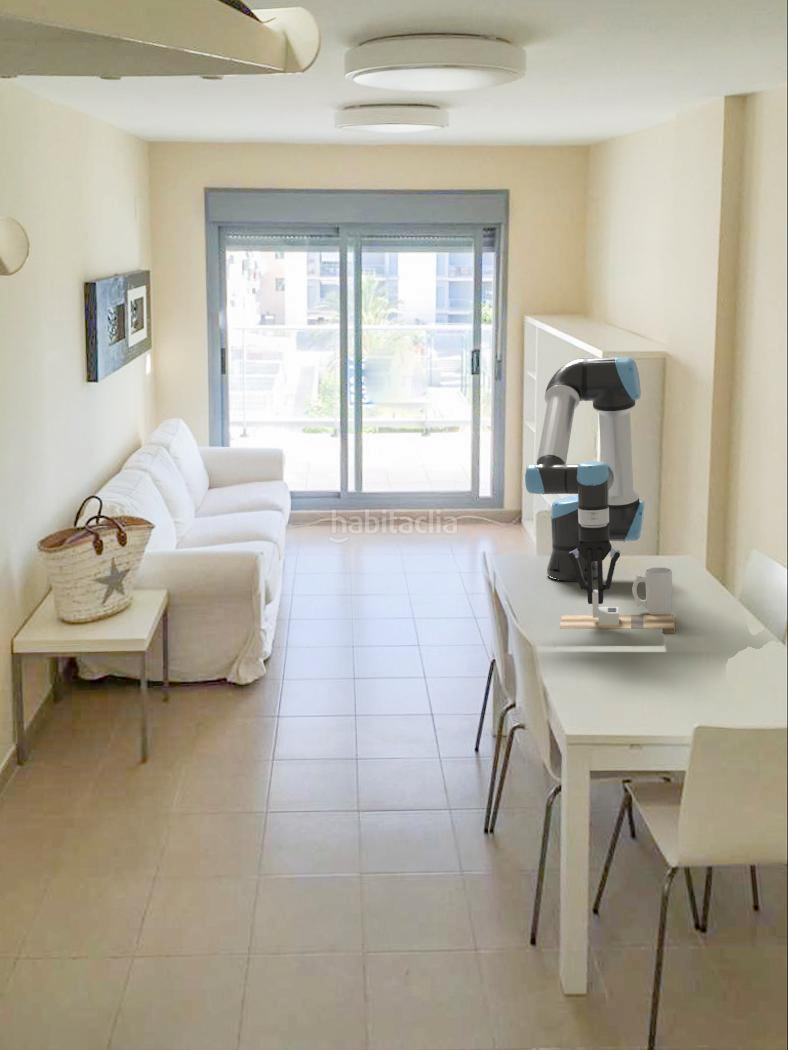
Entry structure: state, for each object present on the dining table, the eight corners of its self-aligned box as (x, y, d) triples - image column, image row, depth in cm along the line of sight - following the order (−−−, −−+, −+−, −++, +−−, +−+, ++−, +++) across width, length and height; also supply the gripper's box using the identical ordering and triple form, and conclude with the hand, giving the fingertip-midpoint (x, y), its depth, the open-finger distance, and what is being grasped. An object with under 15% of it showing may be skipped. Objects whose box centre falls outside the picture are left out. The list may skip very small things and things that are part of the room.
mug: (671, 611, 324) (670, 566, 322) (674, 619, 318) (673, 573, 315) (631, 612, 326) (631, 568, 323) (633, 620, 319) (633, 574, 317)
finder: (599, 618, 318) (598, 606, 317) (619, 618, 317) (618, 606, 316) (598, 625, 312) (598, 612, 311) (618, 625, 311) (618, 612, 310)
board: (562, 619, 323) (561, 615, 323) (673, 619, 318) (673, 614, 317) (559, 633, 311) (559, 628, 311) (674, 632, 306) (674, 628, 306)
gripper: (566, 528, 308) (569, 620, 313) (620, 527, 305) (621, 620, 310) (568, 521, 315) (570, 612, 320) (620, 521, 313) (622, 612, 317)
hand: (595, 616), depth 315 cm, fingers closed
